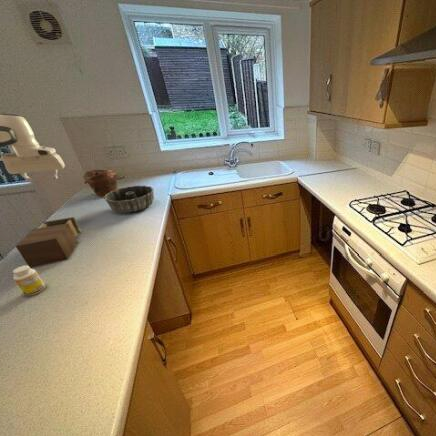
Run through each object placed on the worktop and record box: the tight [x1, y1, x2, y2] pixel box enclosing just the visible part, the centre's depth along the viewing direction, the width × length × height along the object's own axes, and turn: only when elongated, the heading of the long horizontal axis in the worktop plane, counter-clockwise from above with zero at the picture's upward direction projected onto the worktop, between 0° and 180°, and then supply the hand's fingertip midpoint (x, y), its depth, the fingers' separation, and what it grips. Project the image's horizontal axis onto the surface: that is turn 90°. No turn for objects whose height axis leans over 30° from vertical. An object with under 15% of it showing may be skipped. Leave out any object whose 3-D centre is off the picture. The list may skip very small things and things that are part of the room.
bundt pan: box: [103, 185, 155, 214], centre depth 150 cm, size 26×26×10 cm
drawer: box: [40, 216, 82, 239], centre depth 116 cm, size 18×12×9 cm, turn 25°
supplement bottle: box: [12, 264, 46, 296], centre depth 86 cm, size 6×6×10 cm
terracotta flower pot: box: [83, 169, 118, 198], centre depth 170 cm, size 18×20×18 cm
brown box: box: [15, 223, 79, 268], centre depth 106 cm, size 15×13×11 cm
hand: (43, 180), depth 117 cm, fingers open, 8 cm apart
